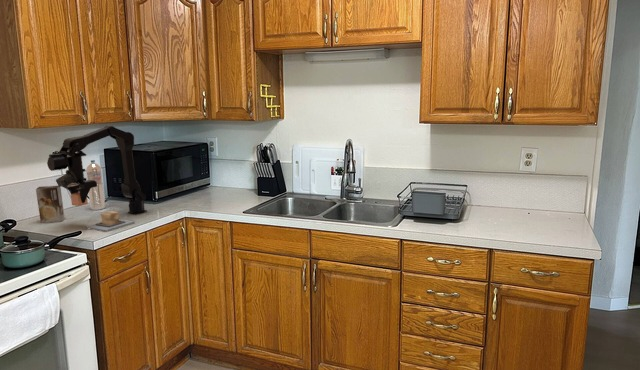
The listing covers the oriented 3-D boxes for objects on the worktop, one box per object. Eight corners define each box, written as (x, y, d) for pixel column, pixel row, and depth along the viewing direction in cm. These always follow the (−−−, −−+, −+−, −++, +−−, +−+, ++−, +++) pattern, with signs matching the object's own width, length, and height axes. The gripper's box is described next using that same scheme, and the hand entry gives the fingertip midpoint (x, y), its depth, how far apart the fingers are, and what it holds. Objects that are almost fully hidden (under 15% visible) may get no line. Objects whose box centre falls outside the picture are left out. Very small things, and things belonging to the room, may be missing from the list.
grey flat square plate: (114, 220, 221) (114, 217, 220) (134, 223, 215) (134, 220, 214) (86, 228, 207) (85, 225, 207) (106, 231, 202) (106, 228, 201)
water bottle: (90, 210, 239) (84, 161, 234) (90, 207, 245) (85, 159, 240) (105, 209, 242) (100, 160, 237) (105, 206, 248) (100, 158, 243)
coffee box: (65, 218, 225) (61, 185, 222) (62, 221, 219) (57, 187, 216) (43, 219, 223) (39, 186, 220) (39, 223, 217) (35, 188, 214)
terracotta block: (81, 203, 213) (79, 192, 212) (87, 203, 211) (86, 192, 210) (71, 205, 209) (70, 194, 208) (78, 206, 207) (77, 195, 206)
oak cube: (111, 221, 214) (110, 211, 213) (119, 223, 212) (118, 212, 211) (102, 224, 210) (100, 213, 209) (109, 225, 208) (108, 214, 207)
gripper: (44, 168, 204) (49, 204, 207) (72, 171, 195) (76, 208, 198) (68, 165, 213) (72, 198, 217) (95, 167, 205) (99, 202, 208)
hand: (79, 202), depth 210 cm, fingers closed on terracotta block, 4 cm apart
